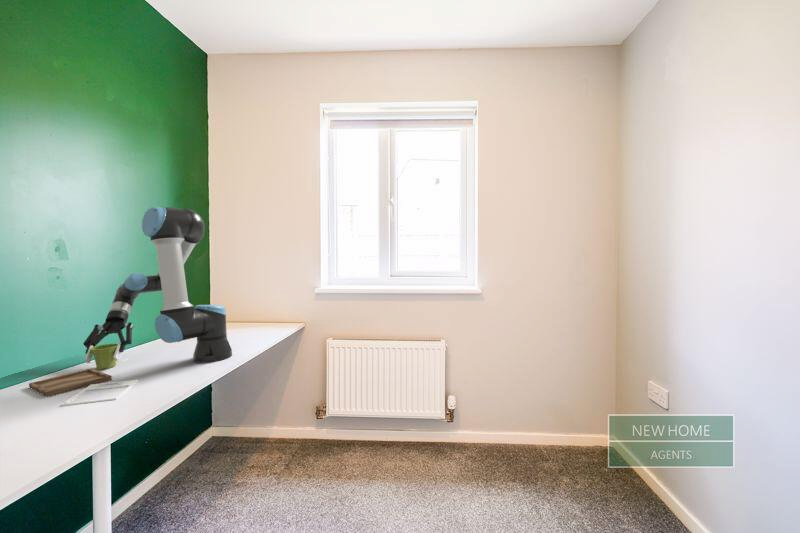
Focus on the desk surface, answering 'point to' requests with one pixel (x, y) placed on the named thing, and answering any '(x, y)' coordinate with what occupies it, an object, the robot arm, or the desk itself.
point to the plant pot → (104, 355)
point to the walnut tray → (69, 382)
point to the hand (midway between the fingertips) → (101, 360)
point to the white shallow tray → (99, 387)
